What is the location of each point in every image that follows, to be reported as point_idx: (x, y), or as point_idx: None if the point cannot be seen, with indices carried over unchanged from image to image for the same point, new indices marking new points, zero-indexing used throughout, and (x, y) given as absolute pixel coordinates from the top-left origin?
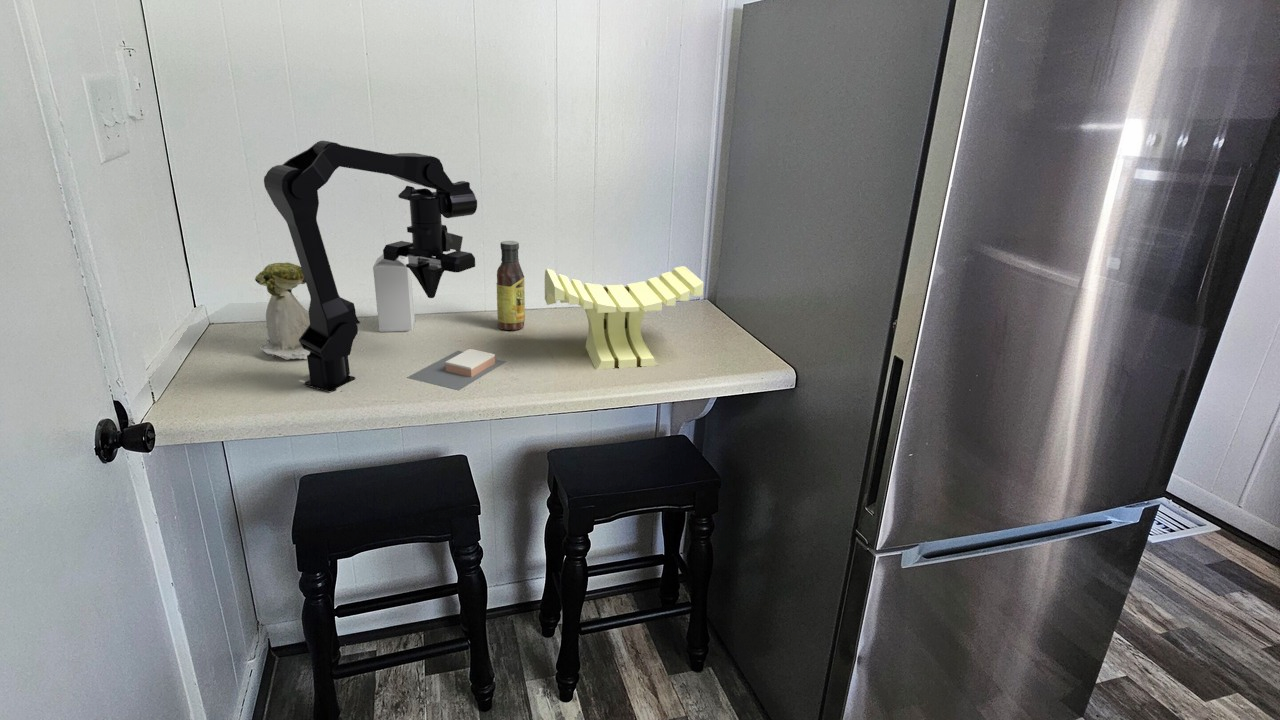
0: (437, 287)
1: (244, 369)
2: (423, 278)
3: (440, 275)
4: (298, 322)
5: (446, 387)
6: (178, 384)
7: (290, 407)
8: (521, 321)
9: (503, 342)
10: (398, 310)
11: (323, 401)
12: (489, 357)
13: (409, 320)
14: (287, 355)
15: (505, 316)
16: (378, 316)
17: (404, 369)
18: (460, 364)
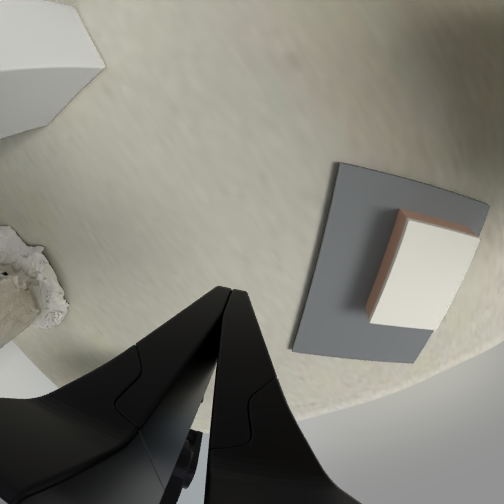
0: (262, 339)
1: (51, 347)
2: (172, 457)
3: (296, 452)
4: (5, 321)
5: (388, 361)
6: (53, 381)
7: (192, 424)
8: None
9: (433, 42)
10: (35, 95)
11: None
12: (470, 261)
13: (79, 71)
14: (51, 324)
15: None
16: (17, 133)
17: (256, 310)
18: (410, 324)
